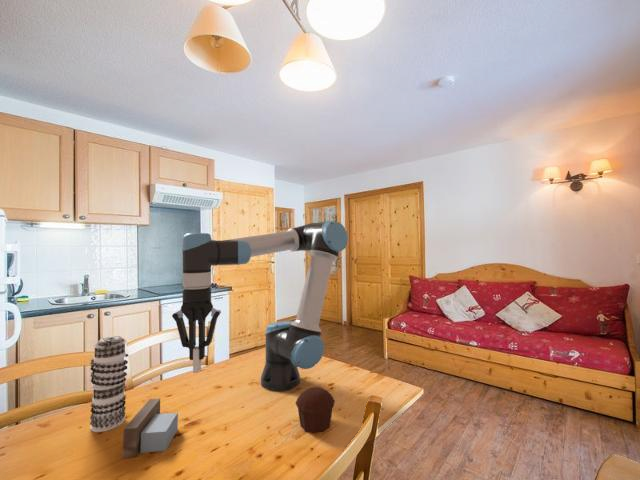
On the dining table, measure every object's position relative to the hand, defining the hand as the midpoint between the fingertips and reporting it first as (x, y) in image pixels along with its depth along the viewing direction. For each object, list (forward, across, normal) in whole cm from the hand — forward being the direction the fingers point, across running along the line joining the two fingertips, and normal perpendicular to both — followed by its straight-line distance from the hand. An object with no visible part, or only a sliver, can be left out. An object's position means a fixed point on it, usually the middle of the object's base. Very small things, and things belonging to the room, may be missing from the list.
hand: (197, 370), depth 84 cm
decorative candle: (+17, +28, -9) cm, 34 cm away
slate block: (+17, +9, +2) cm, 20 cm away
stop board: (+17, +14, 0) cm, 22 cm away
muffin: (+18, -33, 0) cm, 38 cm away
